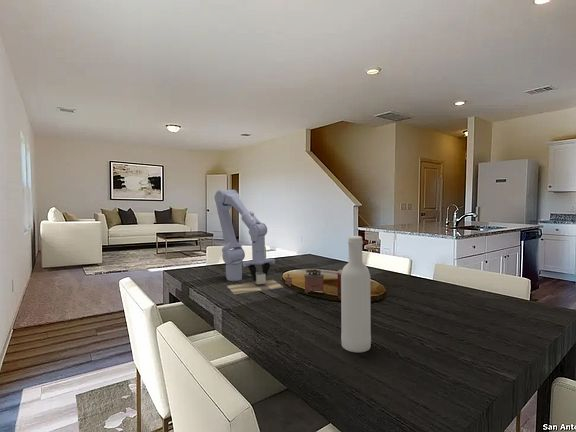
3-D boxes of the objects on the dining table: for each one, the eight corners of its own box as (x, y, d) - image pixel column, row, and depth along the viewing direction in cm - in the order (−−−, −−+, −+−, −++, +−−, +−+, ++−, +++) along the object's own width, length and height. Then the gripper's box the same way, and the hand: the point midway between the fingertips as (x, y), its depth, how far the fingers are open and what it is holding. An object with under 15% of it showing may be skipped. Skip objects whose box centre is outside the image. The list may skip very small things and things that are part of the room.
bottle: (376, 345, 91) (376, 236, 89) (361, 356, 85) (361, 239, 83) (350, 337, 96) (350, 234, 94) (335, 346, 90) (334, 237, 88)
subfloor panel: (226, 288, 148) (226, 285, 148) (272, 282, 157) (272, 279, 156) (234, 297, 135) (234, 294, 135) (284, 289, 144) (284, 287, 144)
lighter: (323, 291, 141) (323, 268, 140) (323, 293, 137) (323, 270, 136) (304, 291, 141) (304, 268, 141) (304, 293, 138) (304, 269, 137)
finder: (253, 281, 151) (253, 272, 151) (261, 280, 153) (261, 271, 152) (257, 284, 146) (257, 275, 145) (265, 283, 147) (265, 273, 147)
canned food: (334, 300, 129) (334, 272, 128) (341, 294, 136) (341, 268, 135) (354, 303, 125) (354, 274, 124) (360, 297, 132) (359, 269, 131)
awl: (284, 285, 150) (284, 273, 150) (290, 285, 151) (290, 272, 151) (286, 287, 147) (286, 274, 147) (293, 286, 149) (292, 274, 148)
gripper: (245, 253, 142) (246, 284, 143) (277, 250, 147) (277, 280, 148) (241, 251, 148) (241, 280, 149) (271, 248, 154) (272, 277, 155)
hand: (259, 280), depth 149 cm, fingers closed on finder, 4 cm apart
